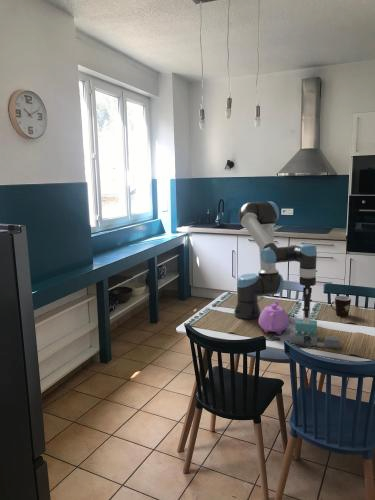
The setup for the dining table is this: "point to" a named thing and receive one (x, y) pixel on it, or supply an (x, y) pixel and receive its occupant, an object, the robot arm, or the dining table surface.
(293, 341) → the rail
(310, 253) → the robot arm
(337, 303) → the coffee mug
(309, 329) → the clip
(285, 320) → the teapot
